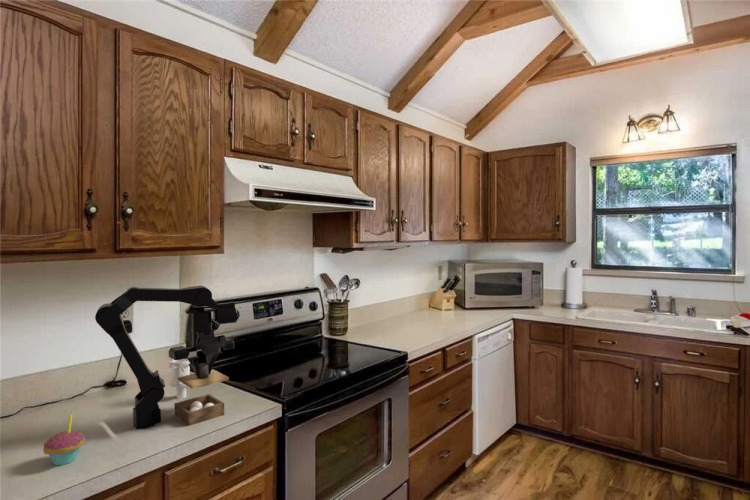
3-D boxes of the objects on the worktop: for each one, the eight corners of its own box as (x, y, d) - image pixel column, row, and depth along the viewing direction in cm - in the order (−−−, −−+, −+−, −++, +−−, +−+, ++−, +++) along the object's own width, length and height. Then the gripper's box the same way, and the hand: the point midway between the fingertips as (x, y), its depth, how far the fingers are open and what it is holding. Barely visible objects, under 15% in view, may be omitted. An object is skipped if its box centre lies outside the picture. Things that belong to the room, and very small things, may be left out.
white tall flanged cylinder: (173, 396, 154) (172, 354, 153) (194, 394, 155) (193, 353, 155) (167, 403, 147) (166, 359, 146) (189, 402, 148) (189, 358, 148)
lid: (192, 389, 128) (192, 373, 128) (177, 380, 137) (177, 365, 136) (228, 379, 136) (228, 364, 136) (213, 371, 145) (212, 357, 144)
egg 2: (191, 422, 130) (191, 410, 130) (186, 418, 133) (186, 407, 133) (203, 418, 133) (202, 407, 133) (198, 415, 135) (197, 404, 135)
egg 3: (206, 417, 133) (206, 406, 133) (201, 414, 136) (201, 403, 136) (217, 414, 136) (217, 403, 136) (212, 411, 139) (212, 400, 138)
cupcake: (68, 450, 115) (67, 405, 115) (93, 455, 113) (92, 409, 112) (35, 467, 107) (33, 419, 107) (61, 472, 105) (59, 423, 104)
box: (188, 428, 128) (188, 413, 128) (174, 417, 136) (174, 403, 136) (224, 417, 136) (224, 403, 136) (208, 407, 144) (208, 393, 143)
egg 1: (193, 416, 135) (192, 404, 135) (188, 412, 137) (188, 401, 137) (204, 412, 137) (204, 401, 137) (199, 409, 140) (199, 398, 140)
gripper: (181, 335, 124) (182, 389, 124) (242, 325, 137) (243, 374, 137) (167, 329, 132) (168, 380, 132) (225, 320, 145) (226, 366, 145)
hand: (203, 375), depth 136 cm, fingers closed on lid, 3 cm apart
